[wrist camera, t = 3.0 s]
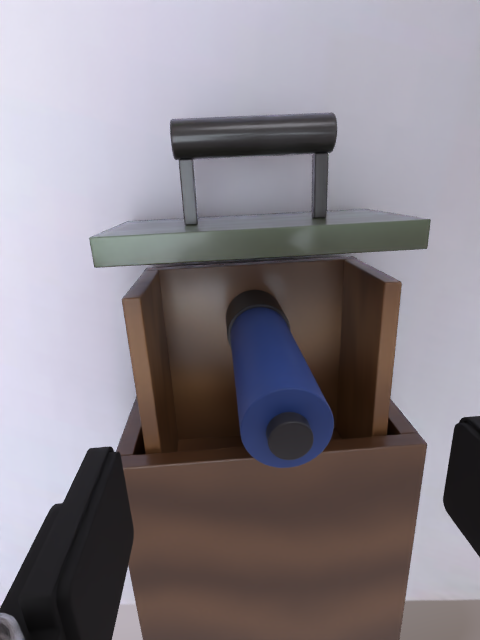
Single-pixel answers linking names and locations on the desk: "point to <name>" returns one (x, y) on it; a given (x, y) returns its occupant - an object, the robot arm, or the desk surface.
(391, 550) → the cabinet
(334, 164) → the desk surface
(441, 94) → the desk surface
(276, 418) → the marker
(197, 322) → the drawer
